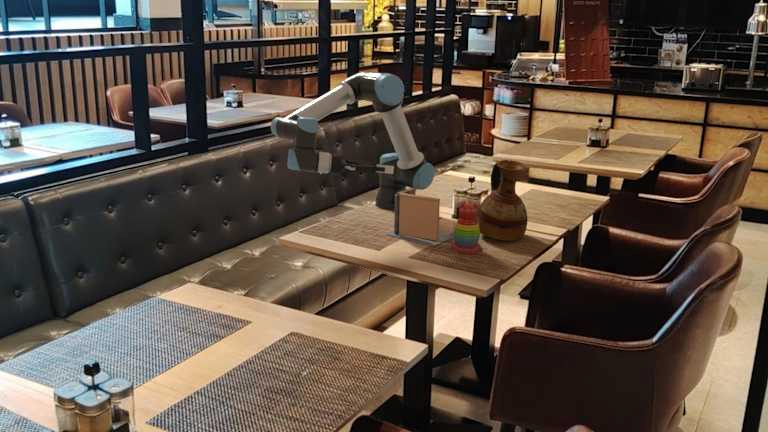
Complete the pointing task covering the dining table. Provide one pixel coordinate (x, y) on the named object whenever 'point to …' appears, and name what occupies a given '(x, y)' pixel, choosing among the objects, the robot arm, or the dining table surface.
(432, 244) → the card
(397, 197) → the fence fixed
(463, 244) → the stacking bear
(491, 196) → the ceramic pitcher
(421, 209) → the tan square panel
